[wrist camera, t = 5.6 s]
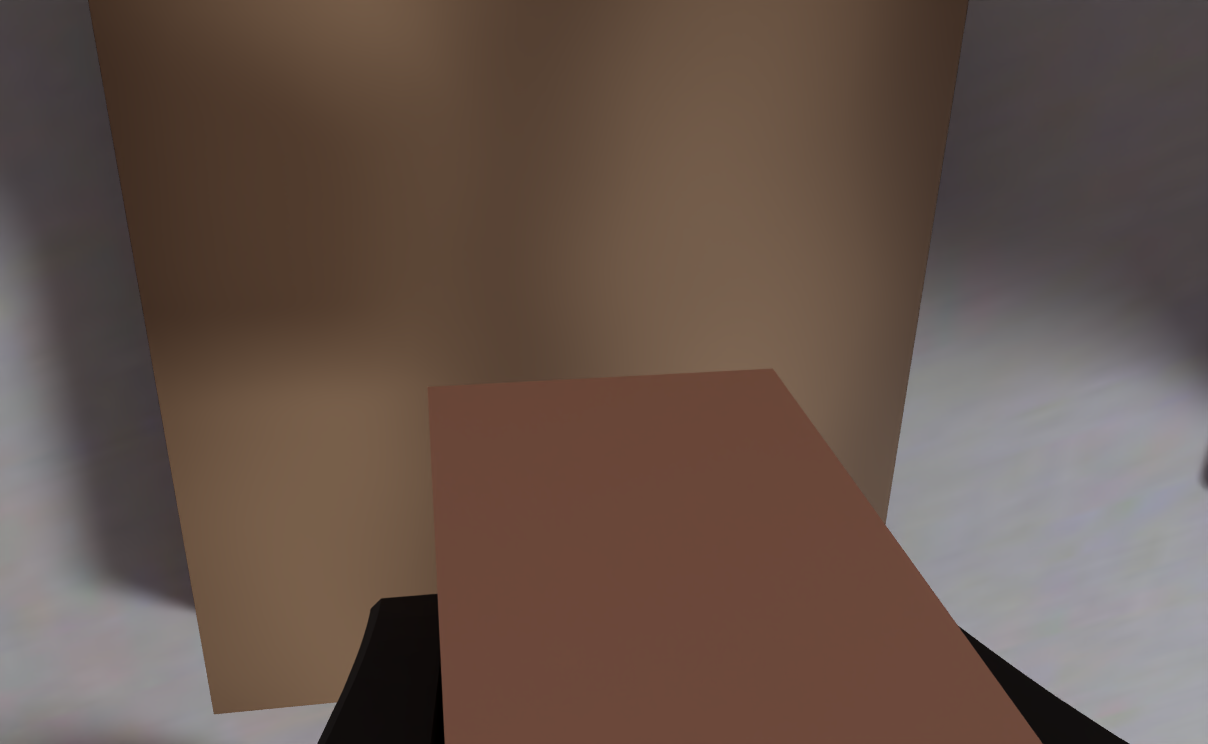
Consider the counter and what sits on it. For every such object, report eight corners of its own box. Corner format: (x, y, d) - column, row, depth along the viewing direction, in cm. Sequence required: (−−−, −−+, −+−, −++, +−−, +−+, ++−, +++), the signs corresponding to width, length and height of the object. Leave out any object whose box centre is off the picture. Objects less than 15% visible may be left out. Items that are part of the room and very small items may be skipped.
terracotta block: (773, 368, 13) (1123, 857, 7) (746, 641, 15) (1006, 1234, 8) (427, 386, 12) (455, 946, 6) (442, 669, 14) (475, 1336, 8)
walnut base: (899, -26, 18) (969, -6, 16) (821, 572, 23) (864, 650, 21) (130, -30, 16) (86, -8, 14) (233, 623, 21) (214, 714, 19)
